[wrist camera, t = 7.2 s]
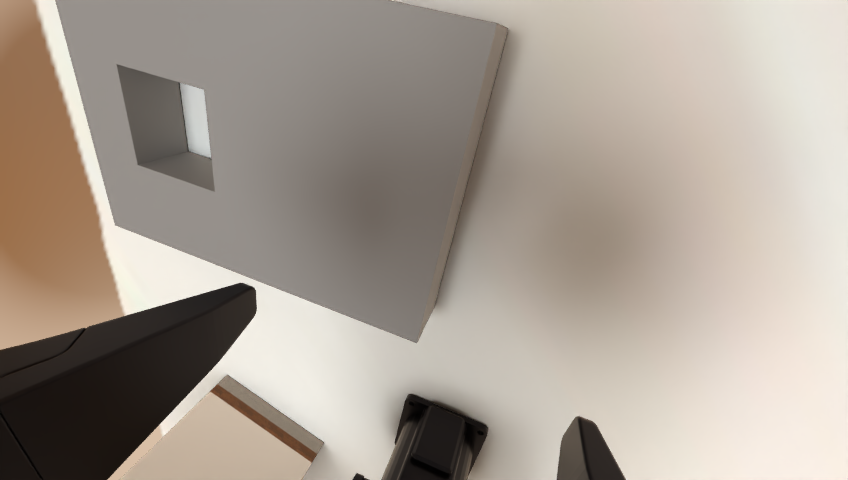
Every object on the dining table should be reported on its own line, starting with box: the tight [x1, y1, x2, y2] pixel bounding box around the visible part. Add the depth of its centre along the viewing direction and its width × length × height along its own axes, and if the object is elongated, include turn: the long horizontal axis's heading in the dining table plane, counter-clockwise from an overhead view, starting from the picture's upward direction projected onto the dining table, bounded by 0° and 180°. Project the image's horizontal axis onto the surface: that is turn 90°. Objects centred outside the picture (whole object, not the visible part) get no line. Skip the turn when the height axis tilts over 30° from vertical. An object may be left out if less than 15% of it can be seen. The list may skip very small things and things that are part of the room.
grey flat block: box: [55, 0, 508, 343], centre depth 21 cm, size 16×22×4 cm
